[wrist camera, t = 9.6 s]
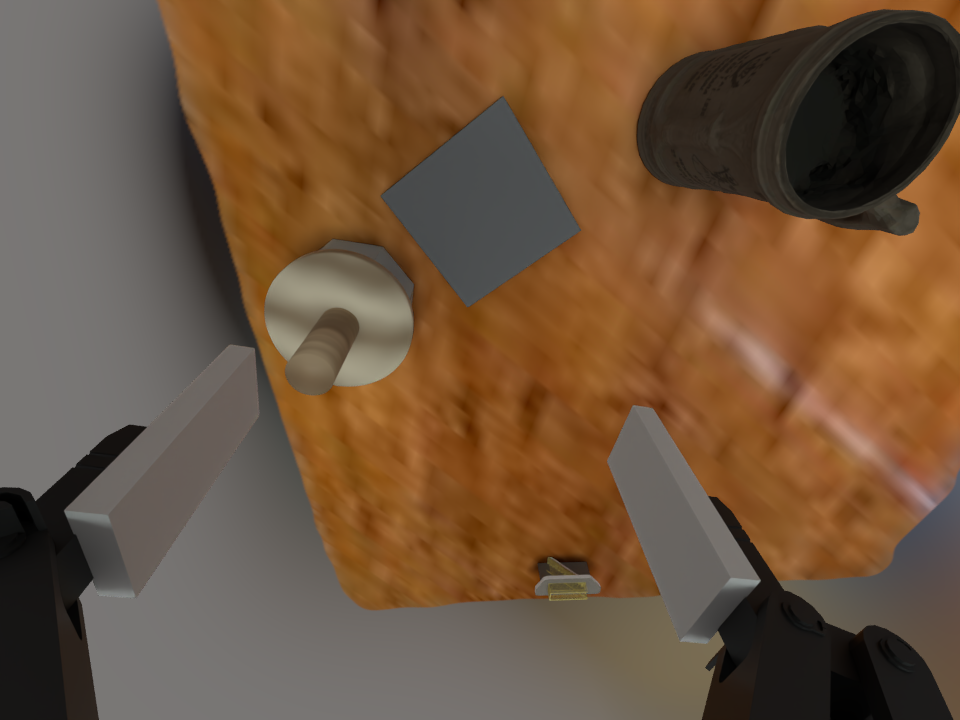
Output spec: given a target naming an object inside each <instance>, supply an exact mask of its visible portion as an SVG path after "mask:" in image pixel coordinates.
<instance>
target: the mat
mask: <svg viewBox="0 0 960 720" xmlns="http://www.w3.org/2000/svg"><path fill="white" fill-rule="evenodd" d="M381 197H382V198H383V200H384V201H385V202H386V204H387V205H388V206H389V207H390V209H391V210H392V211H393V212H394V214H395V215H396V216H397V218H398V219H399V220H400V221H401V223H402V224H403V225H404V227H405V228H406V229H407V230H408V232H409V233H410V234H411V236H412V237H413V238H414V239H415V241H416V242H417V243H418V244H419V246H420V247H421V248H422V250H423V251H424V252H425V253H426V255H427V256H428V257H429V259H430V260H431V261H432V262H433V264H434V265H435V266H436V268H437V269H438V270H439V271H440V273H441V274H442V275H443V276H444V278H445V279H446V280H447V282H448V283H449V284H450V285H451V287H452V288H453V289H454V291H455V292H456V293H457V294H458V296H459V297H460V298H461V300H462V301H463V302H464V303H465V305H466V306H467V307H469V306H471V305H472V304H474V303H475V302H477V301H478V300H479V299H481V298H482V297H484V296H485V295H487V294H488V293H490V292H491V291H493V290H494V289H496V288H497V287H499V286H500V285H502V284H503V283H504V282H506V281H507V280H509V279H510V278H512V277H513V276H515V275H516V274H518V273H519V272H521V271H522V270H524V269H525V268H527V267H528V266H529V265H531V264H532V263H534V262H535V261H537V260H538V259H540V258H541V257H543V256H544V255H546V254H547V253H549V252H550V251H552V250H553V249H554V248H556V247H557V246H559V245H560V244H562V243H563V242H565V241H566V240H568V239H569V238H571V237H572V236H574V235H575V234H577V233H578V232H579V231H581V229H580V228H579V226H578V224H577V223H576V221H575V219H574V217H573V216H572V214H571V212H570V210H569V209H568V207H567V205H566V204H565V202H564V200H563V198H562V197H561V195H560V193H559V191H558V190H557V188H556V186H555V185H554V183H553V181H552V179H551V178H550V176H549V174H548V172H547V171H546V169H545V167H544V166H543V164H542V162H541V160H540V159H539V157H538V155H537V153H536V152H535V150H534V148H533V147H532V145H531V143H530V141H529V140H528V138H527V136H526V134H525V133H524V131H523V129H522V128H521V126H520V124H519V122H518V121H517V119H516V117H515V115H514V114H513V112H512V110H511V109H510V107H509V105H508V103H507V102H506V100H505V98H504V96H503V97H501V98H500V99H499V100H498V101H496V102H495V103H494V104H493V105H492V106H490V107H489V108H488V109H487V110H485V111H484V112H483V113H482V114H481V115H479V116H478V117H477V118H476V119H474V120H473V121H472V122H471V123H469V124H468V125H467V126H466V127H465V128H463V129H462V130H461V131H460V132H458V133H457V134H456V135H455V136H453V137H452V138H451V139H450V140H449V141H447V142H446V143H445V144H444V145H442V146H441V147H440V148H439V149H438V150H436V151H435V152H434V153H433V154H431V155H430V156H429V157H428V158H426V159H425V160H424V161H423V162H422V163H420V164H419V165H418V166H417V167H415V168H414V169H413V170H412V171H411V172H409V173H408V174H407V175H406V176H404V177H403V178H402V179H401V180H399V181H398V182H397V183H396V184H395V185H393V186H392V187H391V188H390V189H388V190H387V191H386V192H385V193H384V194H382V195H381Z"/></svg>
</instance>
